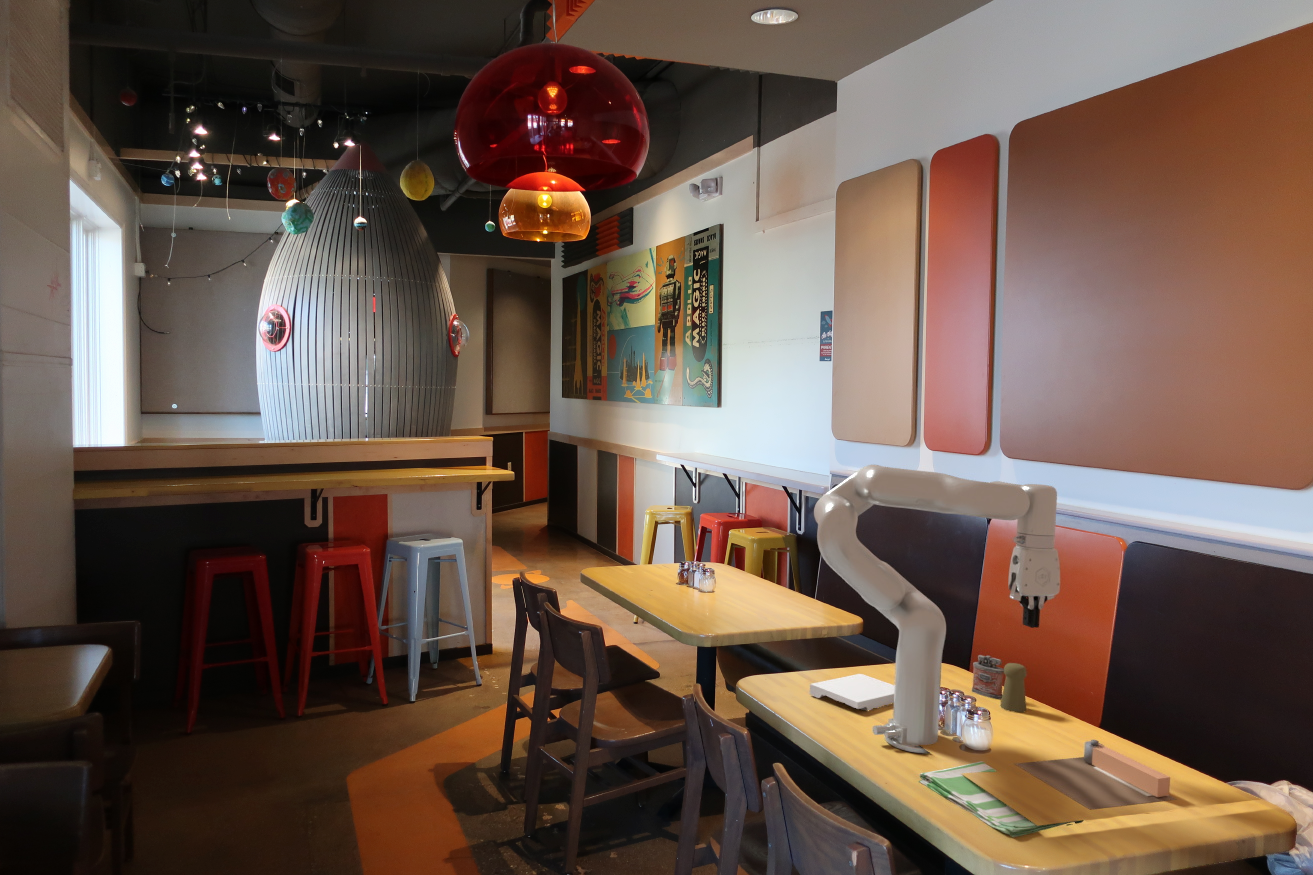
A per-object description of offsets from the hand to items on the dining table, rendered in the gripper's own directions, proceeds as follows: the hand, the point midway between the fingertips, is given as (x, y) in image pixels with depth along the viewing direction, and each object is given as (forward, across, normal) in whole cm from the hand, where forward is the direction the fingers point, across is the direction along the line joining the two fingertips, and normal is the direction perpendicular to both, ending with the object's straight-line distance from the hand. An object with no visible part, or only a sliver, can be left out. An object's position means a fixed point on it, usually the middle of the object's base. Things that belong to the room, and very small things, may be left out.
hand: (1030, 625), depth 182 cm
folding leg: (+25, +7, -19) cm, 33 cm away
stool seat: (+27, 0, -19) cm, 33 cm away
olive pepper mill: (+27, +16, +23) cm, 39 cm away
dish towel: (+28, -23, -20) cm, 41 cm away
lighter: (+27, +16, +33) cm, 46 cm away
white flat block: (+28, -19, +37) cm, 50 cm away
